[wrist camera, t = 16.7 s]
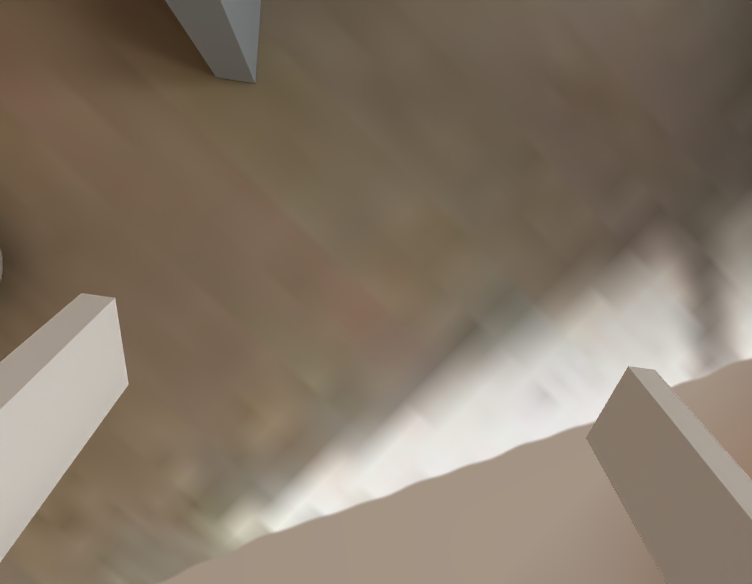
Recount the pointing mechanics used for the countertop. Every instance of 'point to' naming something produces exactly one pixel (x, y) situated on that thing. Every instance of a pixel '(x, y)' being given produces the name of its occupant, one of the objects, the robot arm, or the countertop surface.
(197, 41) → the slate plate
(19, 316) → the countertop surface
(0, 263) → the teacup
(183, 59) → the countertop surface
